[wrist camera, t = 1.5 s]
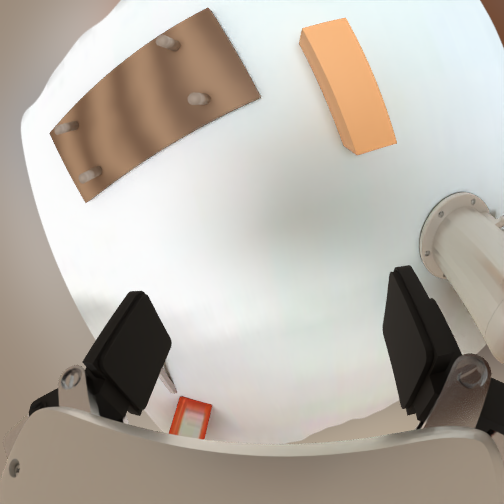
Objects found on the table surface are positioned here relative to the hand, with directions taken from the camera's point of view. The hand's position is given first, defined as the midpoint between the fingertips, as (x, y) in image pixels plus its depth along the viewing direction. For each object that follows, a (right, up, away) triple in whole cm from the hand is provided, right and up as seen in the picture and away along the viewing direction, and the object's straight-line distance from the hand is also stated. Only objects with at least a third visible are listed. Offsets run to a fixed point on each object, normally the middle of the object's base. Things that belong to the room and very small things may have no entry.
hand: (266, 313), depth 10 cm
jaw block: (+8, +19, +13) cm, 24 cm away
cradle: (-14, +18, +16) cm, 28 cm away
